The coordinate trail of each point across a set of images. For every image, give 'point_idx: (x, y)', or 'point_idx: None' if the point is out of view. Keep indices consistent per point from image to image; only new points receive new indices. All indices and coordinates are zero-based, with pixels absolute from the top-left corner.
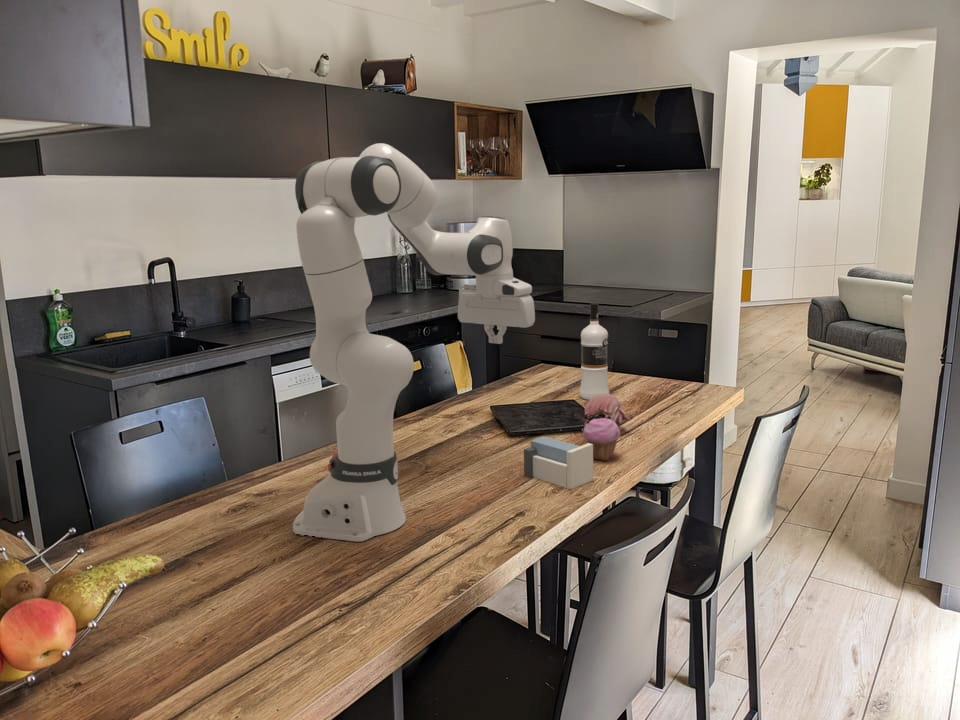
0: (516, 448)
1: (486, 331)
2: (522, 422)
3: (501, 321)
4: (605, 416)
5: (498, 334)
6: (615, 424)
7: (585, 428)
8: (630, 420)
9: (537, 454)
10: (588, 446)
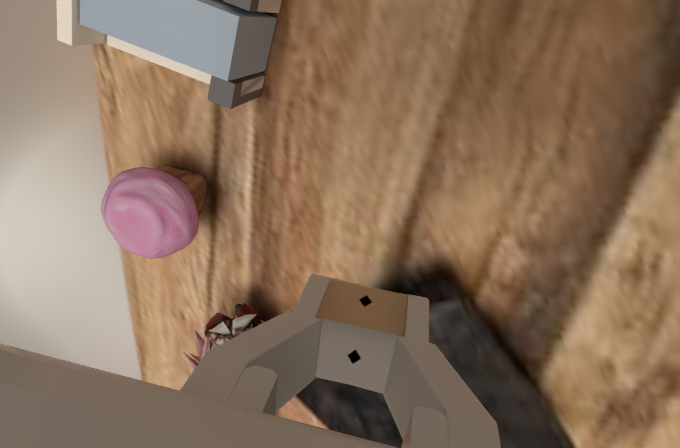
0: (394, 190)
1: (457, 386)
2: (453, 365)
3: (80, 429)
4: (206, 327)
5: (282, 326)
6: (107, 226)
7: (171, 198)
8: (191, 354)
9: (230, 7)
10: (57, 16)
